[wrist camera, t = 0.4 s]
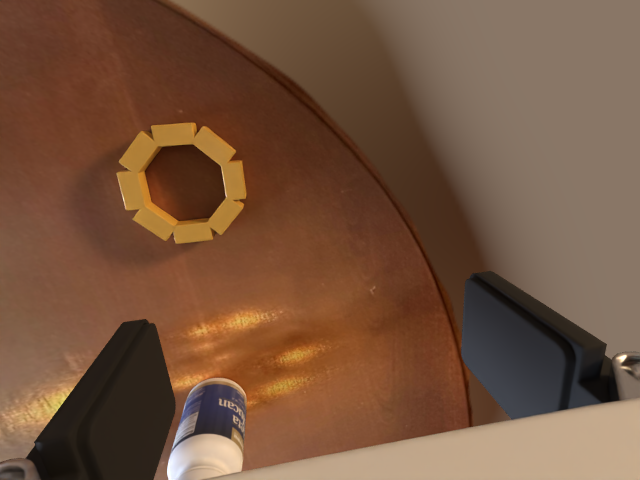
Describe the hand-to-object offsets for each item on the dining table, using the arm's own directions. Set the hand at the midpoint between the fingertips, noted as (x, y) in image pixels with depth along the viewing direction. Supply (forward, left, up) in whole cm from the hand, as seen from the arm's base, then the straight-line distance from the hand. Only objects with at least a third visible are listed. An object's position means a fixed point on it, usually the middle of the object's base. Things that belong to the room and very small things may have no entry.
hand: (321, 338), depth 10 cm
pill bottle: (+17, -8, -19) cm, 27 cm away
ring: (-3, -7, -18) cm, 20 cm away
